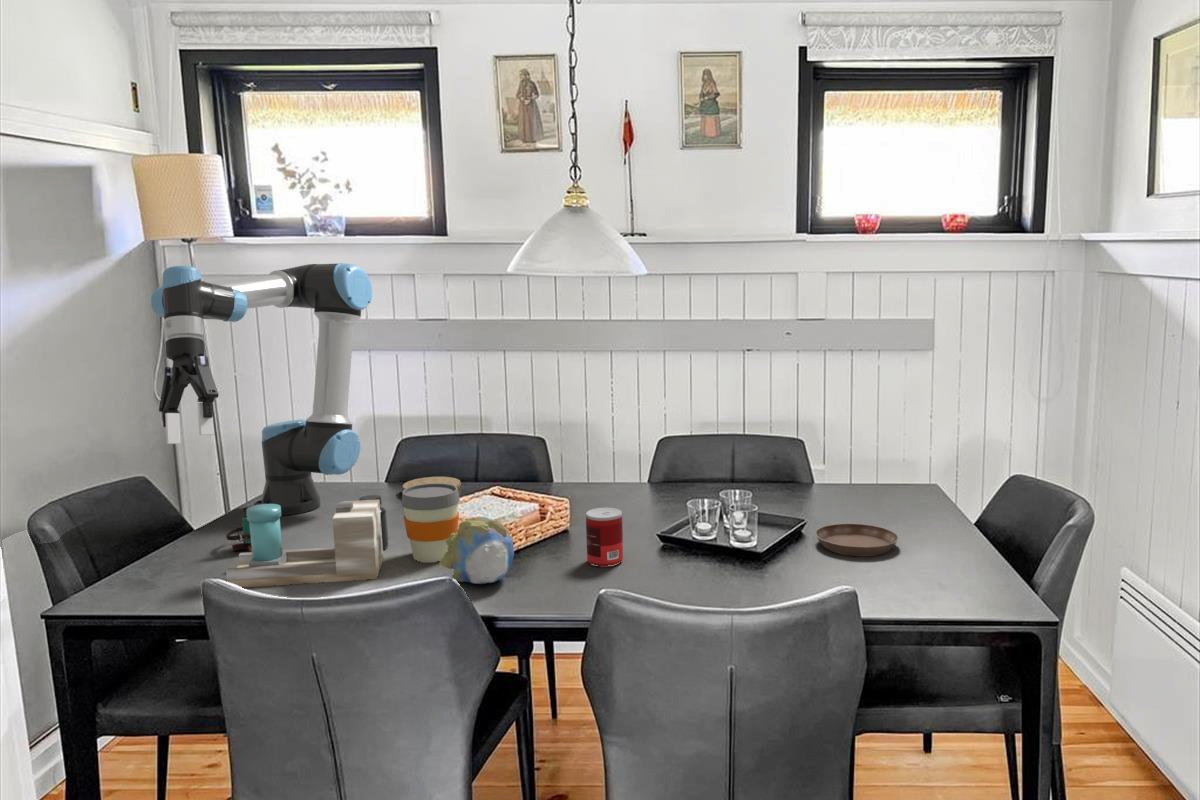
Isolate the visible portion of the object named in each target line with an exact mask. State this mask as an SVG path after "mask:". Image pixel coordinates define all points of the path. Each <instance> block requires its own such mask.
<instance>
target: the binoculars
mask: <svg viewBox="0 0 1200 800" xmlns="http://www.w3.org/2000/svg"><path fill="white" fill-rule="evenodd" d="M261 504H264V502H263V500H261V499H260V500H257V501H255V502H254V503H253V506H255V505H261ZM247 508H248V507H243V508H242V510H243V512H244V514H245V516H243V517H242V518H241V525H242V526H240V527H236V528H234V529H231V530H229V531H227V533H225V537H226V540H227V541H239V543H236V544H231V547H232V548H231V549H232V551H239V550H244V549H245V550H247V549H248V551H249V552H252V546H251V535H250V524H249V521H248V520H247V513H246V509H247ZM236 533H237V535H234V534H236Z"/></svg>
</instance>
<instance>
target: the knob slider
mask: <svg viewBox="0 0 1200 800" xmlns="http://www.w3.org/2000/svg"><path fill="white" fill-rule="evenodd" d="M246 508H247V509H246V513H247V520H248V521H249V524H250V535H251V546H252V557H253V558H252V559H251V561H250V562H249V567H259V566H276V565H284V564H285V563H286V561H287V556H286V550H287V549H283V543H282V531H281V519H280V518H281V517H282V515H281V506H280V505H278V504H261V505H255V506H254V505H252V506H250V507H246Z"/></svg>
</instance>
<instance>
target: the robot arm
mask: <svg viewBox="0 0 1200 800" xmlns="http://www.w3.org/2000/svg"><path fill="white" fill-rule="evenodd" d="M161 280H162V281H161V282H162V285H160V286H159V287H157V288H156V289H154V290H153V292H152V294H151V297H150V305H151V309H152V311H153V312H154V313H155V314H156V315H157V316H158V317H160V318H163V320H164V322H163V323H162V324H163V327H164V335H165V336H164V337H165V338H166V339H167V340H166V341H165V344H164V345H165V357H166V358H167V359H168V360H171V361H172V366H165V367H164V378H163V384H162V388H161V389H162V390H161V395H160V400H159V405H158V412H160V413H163V415H164V417H165V418H164V419H165V435H166V437H165V438H166V445H180V444H182V440H181V422H180V420H181V418H180V413H181V412H180V411H179V410H178V409H179V407H180V404H181V400H182V399H183V398H182V397H183V395H184V391H185V389H186V388H187V387H188V386H189V385H191V387H192V389H193V391H194V392H195V395H196V396H197V400H196V402H198V403H197V416H198V417H197V418H198V434H199V435H198V436H214V432H215V431H214V414H213V403H214V401H215V399H218V398H219V395H220V394H219V391H218V388H217V386H216V383H215V379H214V377H213V374H212V371H211V368H210V365H209V364H210V363H209V357H208V356H205V355H206V352H205V351H206V350H205V341H204V339H203V338H205V337H204V331H205V330H204V320H216V321H217V320H219V321H222V322H231V323H236V322H239V321H241V320H242V319H243V318H244V317H245V315H246V313H247V312H248V311H247V310H248V309H255V308H263V307H269V306H274V307H276V308H281V309H282V308H304V309H311V310H312V309H313V310H314V311H313V314H314V315H315V317H316V318H317V319H318V321H319V326H318V337H317V338H318V340H317V354H316V362H315V364H316V365H315V376H314V377H315V378H314V389H313V391H314V392H313V403H312V404H313V405H312V414H311V415H310V416H309V417H307V418H306V419H294V420H286V421H281V422H276V423H272V424H268V425H265V426H264V427H263V429H262V430H261V447H262V449H261V450H262V457H263V467H264V468H263V469H264V477H265V479H264V480H265V483H264V487H263V491H262V493H261V494H262V495H261V499H260V500H263V502H264V504H278V505H280V506H281V516H289V515H298V514H303V513H306V512H309V511H315V510H316V509H317V508H320V507H321V504H322V503H321V496H320V493H319V491H318V488H317V486H316V484H315V482H314V479H313V476H312V473H313V474H315V473H316V474H322V475H326V476H329V475H330V476H331V475H337V476H338V475H344V474H345V473H348V472H349V471H350V470H352V468H353V467H354V466H355V464H357V461H358V459H359V457H360V453H361V440H360V439H359V435H358V434H357V433H356V432H355V431H354V430H353V422H352V421H351V419H350V418H349V417H348V407H349V395H350V383H351V382H350V381H351V380H350V379H351V370H352V369H351V368H352V367H351V366H352V357H353V356H352V354H353V343H354V342H353V341H354V330H355V323H357V322H358V321H360V319H362V318H361V317H362V310H364V309H366V308H367V307H368V306H369V304H371V301H372V298H373V286H372V282H371V279H370V277H369V276H368V275H367V272H366V271H365V270H364V269H363V268H362V267H361V266H359V265H357V264H352V263H347V262H346V263H344V262H339V263H309V264H308V263H307V264H304V265H299V266H294V267H289V268H284V269H277V270H273V271H271V272H270V273H269V274H268V275H260V276H252V277H251V276H250V277H240V278H233V279H222V280H215V281H203V280H202V276H201V272H200V270H199V269H198V268H197V267H195V266H191V265H174V266H169V267H167V268H165V269H164V270H163V272H162V279H161Z"/></svg>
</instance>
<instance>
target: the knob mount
mask: <svg viewBox="0 0 1200 800" xmlns="http://www.w3.org/2000/svg"><path fill="white" fill-rule="evenodd" d="M335 506H336V507H335V513H334V515H333V516H332V527H333V528H332V529H333V543H334V547H331V546H330V547H320V548H319V547H318V548H317V547H316V548H298V549H285V550H286V556H287V561H286V563H285V564H284V565H276V566H259V567H249V562H250V561H251V559H252V558H253V557H252V552H251V551H249V552H247V551H246V552H239V554H238V562H239V564H238V565H237V567H229V568H227V569H226V571H225V573H226V581H228V582H231V583H234V584H237V585H239V586H242V587H244V588H256V587H257V588H258V587H274V585H276V586H291V585H290V584H292V585H304V584H303V583H308V584H319V582H320V583H321V582H324V583H335V582H338V583H339V582H350V581H351V582H354V581H355V580H356V581H368V580H367V579H371V580H378V577H377V576H379V574H378V573H380V571H379V570H381V567H382V563H383V561H384V550H383V545H382V530H381V515H380V499H379V500H361V501H360V500H347V501H346V500H344V501H341V502H338V503H337V504H336V505H335ZM353 580H354V581H353ZM356 581H355V582H356Z"/></svg>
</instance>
